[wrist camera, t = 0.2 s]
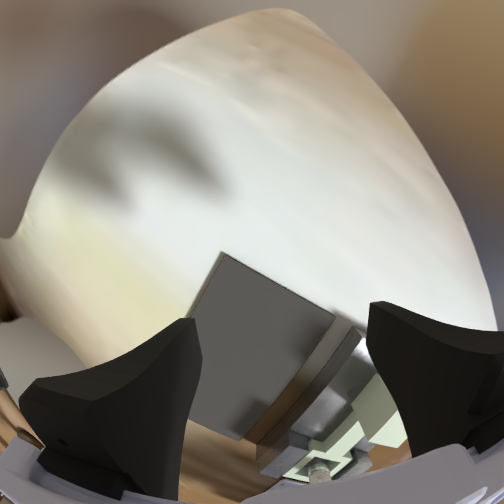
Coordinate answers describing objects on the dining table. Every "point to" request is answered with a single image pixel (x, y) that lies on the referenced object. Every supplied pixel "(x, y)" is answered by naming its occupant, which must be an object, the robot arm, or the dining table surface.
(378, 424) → the sage hook
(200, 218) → the dining table surface
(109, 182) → the dining table surface
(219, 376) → the black mat
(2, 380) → the phone
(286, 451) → the vise
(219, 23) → the dining table surface
